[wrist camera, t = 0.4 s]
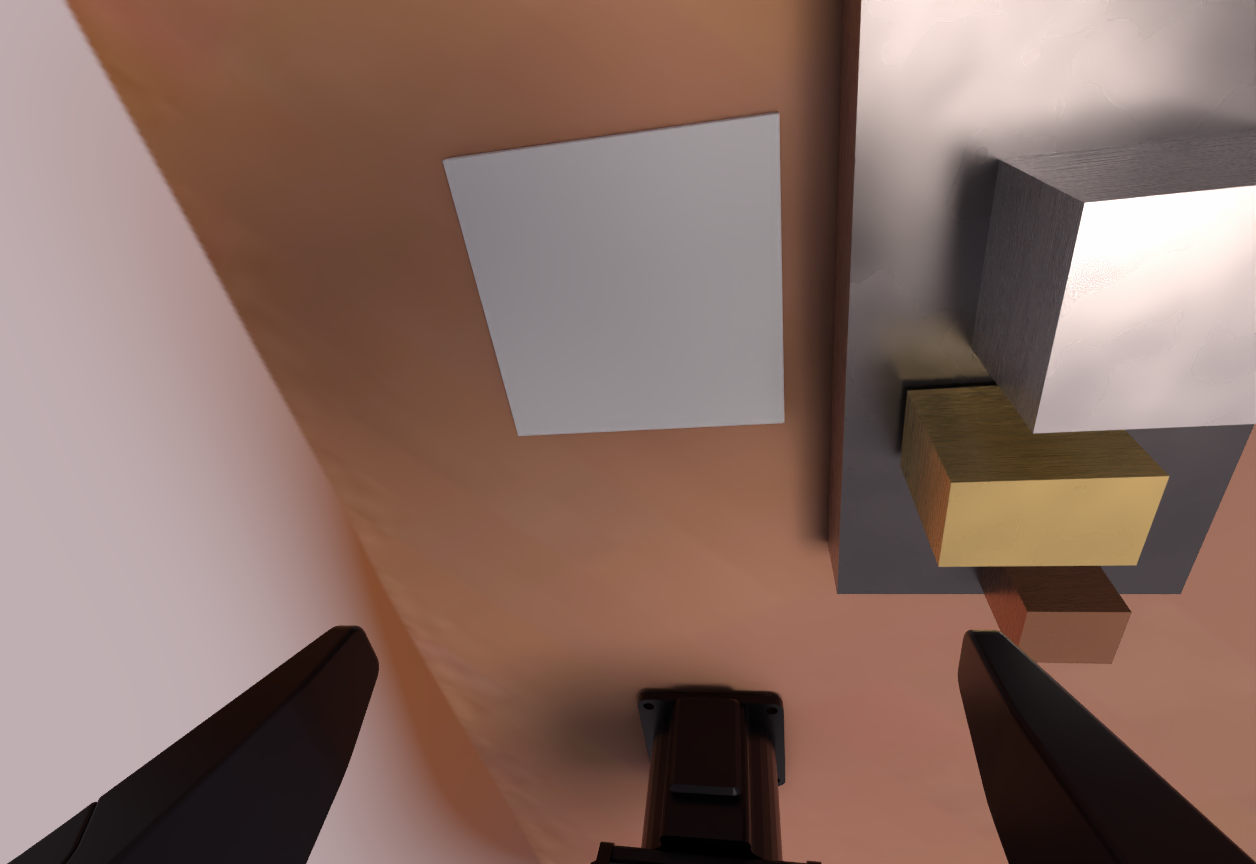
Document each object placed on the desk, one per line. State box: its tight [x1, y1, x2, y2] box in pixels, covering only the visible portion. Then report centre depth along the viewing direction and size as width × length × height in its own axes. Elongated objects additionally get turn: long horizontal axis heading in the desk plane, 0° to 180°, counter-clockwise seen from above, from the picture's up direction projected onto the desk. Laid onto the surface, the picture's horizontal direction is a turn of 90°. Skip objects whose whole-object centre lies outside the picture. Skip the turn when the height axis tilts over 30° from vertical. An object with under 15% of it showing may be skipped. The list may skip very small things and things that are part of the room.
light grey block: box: [971, 129, 1256, 433], centre depth 13 cm, size 4×5×4 cm
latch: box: [900, 385, 1169, 567], centre depth 15 cm, size 2×4×4 cm, turn 99°
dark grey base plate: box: [828, 0, 1256, 664], centre depth 15 cm, size 18×10×6 cm, turn 8°
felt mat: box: [442, 112, 784, 436], centre depth 19 cm, size 9×9×1 cm
